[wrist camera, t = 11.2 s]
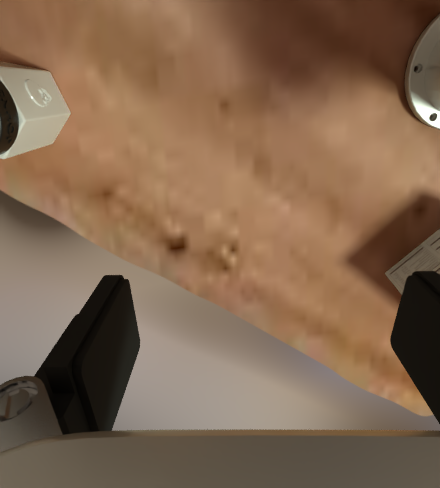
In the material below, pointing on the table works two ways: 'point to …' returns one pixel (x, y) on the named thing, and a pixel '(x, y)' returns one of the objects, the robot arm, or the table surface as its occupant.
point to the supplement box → (417, 261)
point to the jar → (28, 109)
